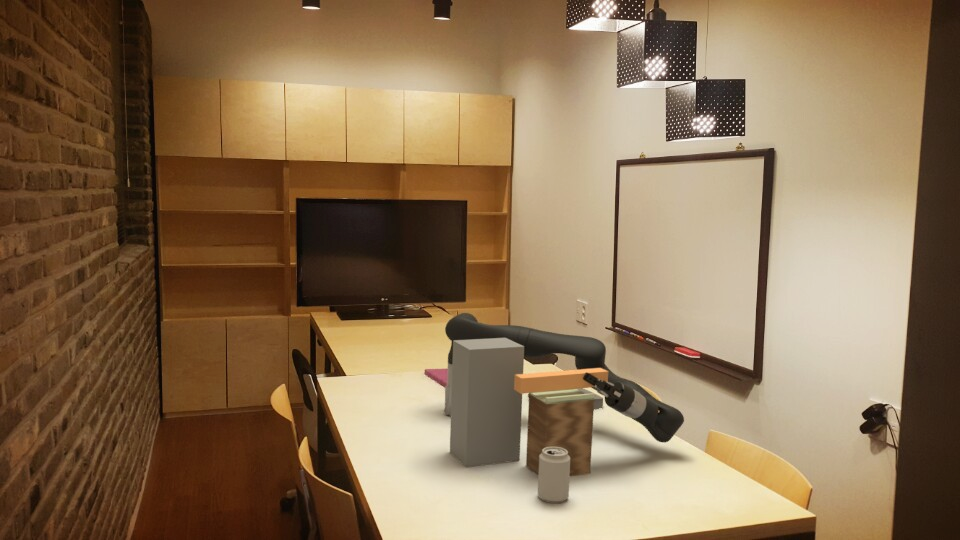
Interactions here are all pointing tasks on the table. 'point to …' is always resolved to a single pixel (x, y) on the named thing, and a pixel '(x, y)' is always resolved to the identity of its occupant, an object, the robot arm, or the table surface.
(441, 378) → the thin magenta plate
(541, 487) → the can
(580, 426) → the walnut pedestal
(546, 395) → the green tray
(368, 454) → the table surface
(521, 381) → the orange wooden bar
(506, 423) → the grey stand
